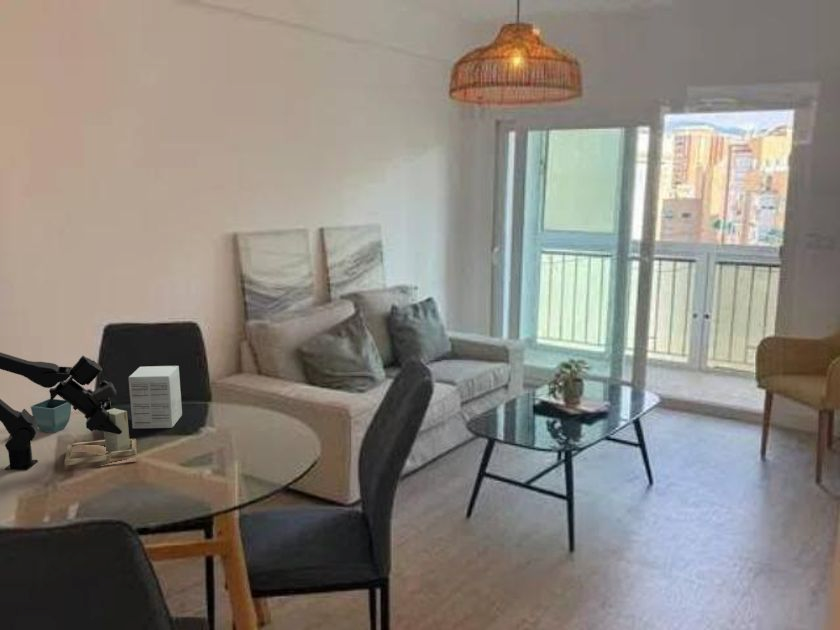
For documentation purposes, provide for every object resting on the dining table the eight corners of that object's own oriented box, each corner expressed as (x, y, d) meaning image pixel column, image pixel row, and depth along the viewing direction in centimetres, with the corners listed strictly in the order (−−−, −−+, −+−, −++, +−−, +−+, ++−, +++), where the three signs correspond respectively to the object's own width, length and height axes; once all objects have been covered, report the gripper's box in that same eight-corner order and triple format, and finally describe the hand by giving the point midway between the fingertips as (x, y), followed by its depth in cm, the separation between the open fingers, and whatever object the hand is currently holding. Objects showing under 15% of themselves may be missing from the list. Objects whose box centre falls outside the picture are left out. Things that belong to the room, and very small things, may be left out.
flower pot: (74, 426, 256) (72, 400, 254) (55, 435, 248) (52, 408, 246) (52, 424, 258) (49, 398, 256) (32, 433, 250) (29, 406, 248)
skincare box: (131, 450, 232) (128, 410, 229) (118, 455, 228) (115, 414, 226) (117, 446, 235) (114, 407, 233) (104, 450, 231) (101, 411, 229)
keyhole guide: (64, 470, 220) (64, 462, 219) (69, 451, 235) (69, 442, 234) (136, 462, 226) (136, 453, 225) (137, 443, 241) (136, 435, 240)
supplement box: (143, 415, 266) (139, 366, 263) (182, 414, 267) (179, 365, 264) (131, 429, 253) (127, 377, 250) (172, 428, 254) (169, 376, 251)
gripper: (95, 384, 217) (140, 418, 223) (99, 367, 234) (140, 399, 240) (67, 414, 216) (112, 447, 222) (72, 395, 233) (114, 426, 239)
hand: (121, 428), depth 231 cm, fingers closed on skincare box, 7 cm apart
